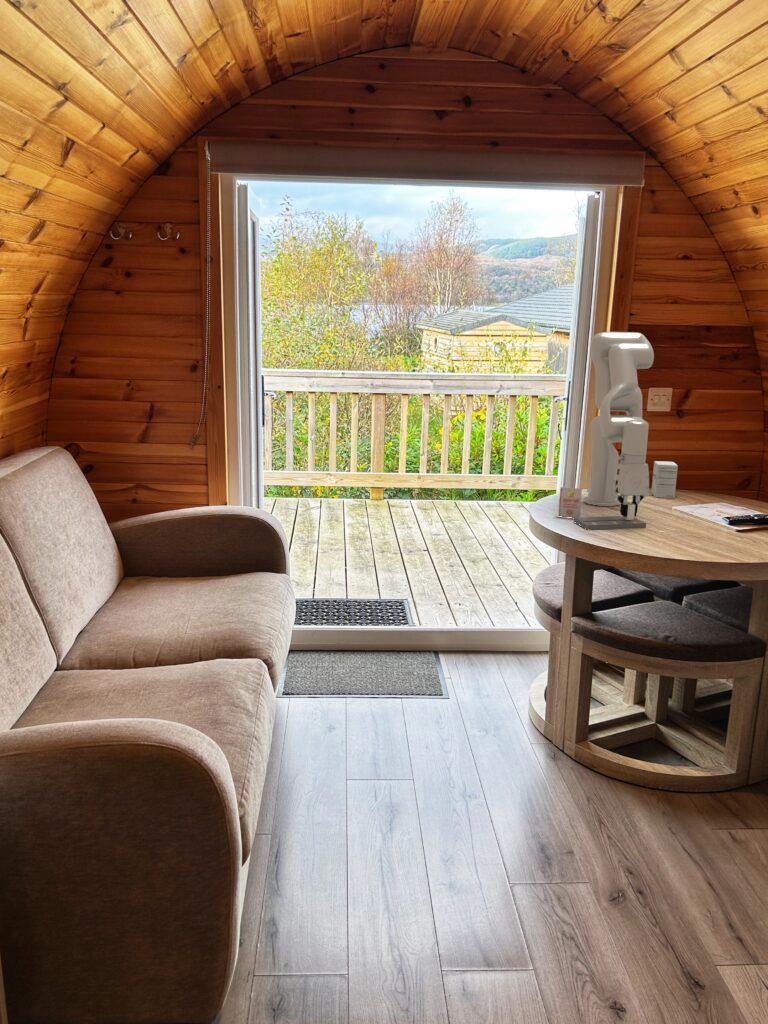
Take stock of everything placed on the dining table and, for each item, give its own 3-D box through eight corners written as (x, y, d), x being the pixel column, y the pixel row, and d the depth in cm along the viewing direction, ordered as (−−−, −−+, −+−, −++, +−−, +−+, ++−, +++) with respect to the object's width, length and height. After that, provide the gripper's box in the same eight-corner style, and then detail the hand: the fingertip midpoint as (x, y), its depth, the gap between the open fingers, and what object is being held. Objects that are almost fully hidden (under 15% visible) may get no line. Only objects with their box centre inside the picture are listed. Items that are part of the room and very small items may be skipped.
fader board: (573, 522, 260) (574, 517, 260) (630, 520, 264) (630, 515, 264) (587, 530, 251) (587, 525, 251) (645, 527, 255) (646, 522, 255)
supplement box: (650, 493, 306) (653, 460, 303) (670, 494, 305) (674, 461, 302) (654, 497, 299) (657, 464, 296) (675, 498, 298) (678, 464, 295)
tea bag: (559, 515, 270) (561, 486, 267) (579, 517, 268) (582, 487, 265) (558, 517, 266) (560, 488, 264) (579, 519, 264) (581, 489, 262)
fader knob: (622, 517, 260) (623, 502, 259) (629, 517, 260) (630, 502, 259) (627, 520, 257) (628, 504, 256) (633, 519, 257) (635, 504, 256)
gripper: (615, 461, 249) (610, 519, 253) (662, 460, 252) (657, 517, 256) (604, 457, 256) (599, 513, 260) (650, 456, 259) (645, 512, 263)
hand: (628, 515), depth 258 cm, fingers closed on fader knob, 2 cm apart
